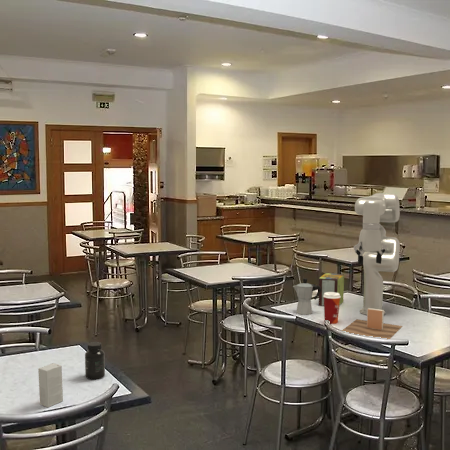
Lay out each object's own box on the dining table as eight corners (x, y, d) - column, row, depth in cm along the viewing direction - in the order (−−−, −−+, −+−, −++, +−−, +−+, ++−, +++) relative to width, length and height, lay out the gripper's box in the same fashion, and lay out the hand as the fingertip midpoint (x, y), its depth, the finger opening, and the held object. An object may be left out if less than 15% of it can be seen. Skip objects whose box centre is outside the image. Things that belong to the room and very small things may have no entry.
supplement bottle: (82, 375, 203) (81, 343, 201) (100, 371, 207) (99, 339, 205) (89, 381, 197) (89, 348, 196) (108, 377, 201) (107, 344, 200)
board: (356, 321, 274) (356, 319, 274) (402, 328, 263) (402, 326, 263) (340, 334, 254) (340, 331, 254) (389, 342, 242) (389, 339, 242)
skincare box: (54, 398, 183) (53, 362, 182) (63, 401, 181) (62, 365, 179) (38, 404, 178) (37, 368, 177) (47, 408, 176) (46, 371, 174)
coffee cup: (339, 327, 264) (340, 296, 263) (322, 326, 266) (322, 295, 264) (339, 322, 273) (340, 292, 271) (322, 321, 274) (323, 291, 273)
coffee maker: (291, 314, 286) (292, 279, 284) (291, 310, 295) (292, 276, 293) (321, 315, 284) (322, 280, 282) (320, 311, 293) (321, 277, 291)
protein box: (343, 301, 314) (344, 274, 312) (337, 308, 300) (338, 279, 298) (325, 299, 318) (325, 272, 316) (317, 306, 304) (318, 277, 302)
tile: (367, 327, 261) (368, 308, 260) (382, 329, 257) (383, 310, 256) (366, 327, 260) (367, 308, 259) (381, 330, 256) (382, 310, 255)
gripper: (382, 226, 268) (380, 261, 270) (350, 226, 263) (349, 263, 264) (391, 227, 261) (390, 264, 263) (359, 228, 256) (357, 265, 257)
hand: (369, 263), depth 263 cm, fingers open, 9 cm apart
